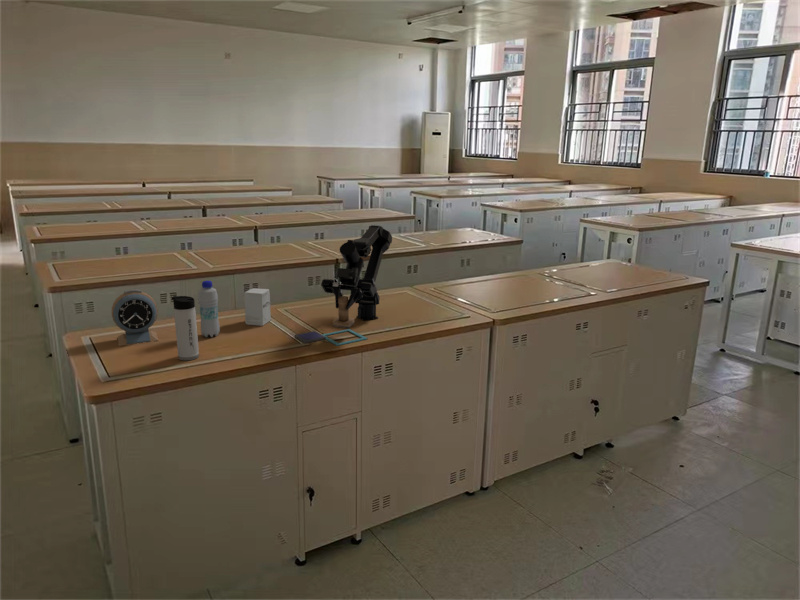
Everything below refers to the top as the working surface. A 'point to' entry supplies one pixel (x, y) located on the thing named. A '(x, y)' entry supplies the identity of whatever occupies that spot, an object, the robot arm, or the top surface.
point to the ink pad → (310, 337)
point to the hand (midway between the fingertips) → (341, 308)
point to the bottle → (208, 309)
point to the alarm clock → (135, 317)
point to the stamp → (343, 314)
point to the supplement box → (257, 306)
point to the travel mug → (186, 327)
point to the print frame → (346, 341)
